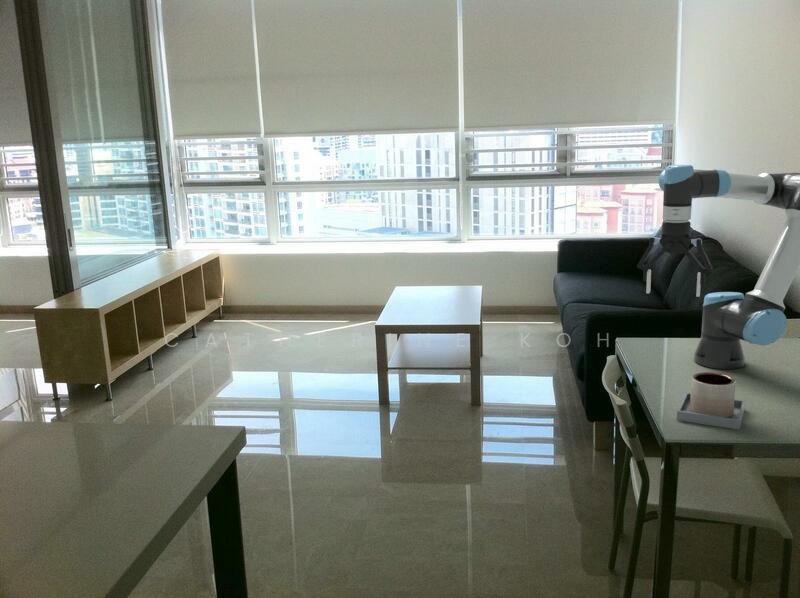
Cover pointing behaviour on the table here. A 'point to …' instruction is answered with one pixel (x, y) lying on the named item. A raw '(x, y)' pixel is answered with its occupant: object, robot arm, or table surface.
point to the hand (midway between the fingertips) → (672, 294)
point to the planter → (712, 394)
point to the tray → (730, 422)
